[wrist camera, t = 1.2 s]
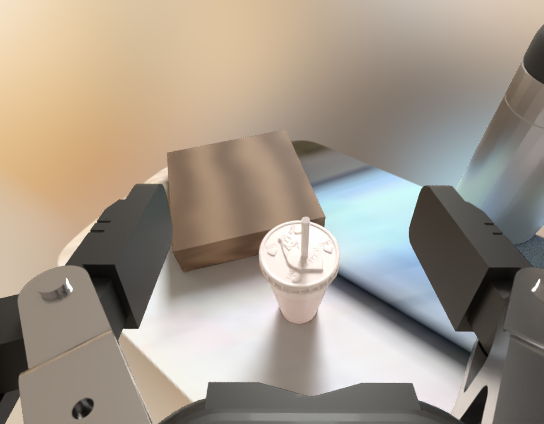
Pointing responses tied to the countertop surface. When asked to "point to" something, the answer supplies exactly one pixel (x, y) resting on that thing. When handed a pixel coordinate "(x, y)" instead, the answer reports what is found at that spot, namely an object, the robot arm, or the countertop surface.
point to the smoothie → (299, 266)
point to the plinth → (235, 197)
